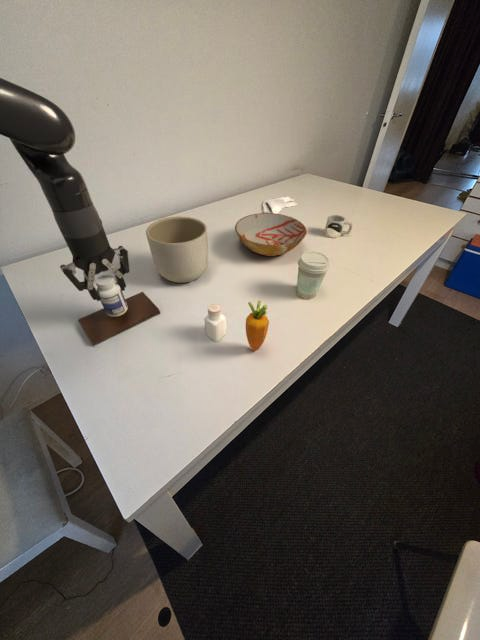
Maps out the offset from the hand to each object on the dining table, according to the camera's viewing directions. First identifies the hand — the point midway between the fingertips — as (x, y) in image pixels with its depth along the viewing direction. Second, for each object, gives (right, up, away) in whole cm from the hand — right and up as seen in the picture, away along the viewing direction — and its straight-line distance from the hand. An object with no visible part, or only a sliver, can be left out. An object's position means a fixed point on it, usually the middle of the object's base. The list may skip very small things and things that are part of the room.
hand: (110, 293), depth 64 cm
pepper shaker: (+26, -10, +3) cm, 28 cm away
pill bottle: (0, -4, +4) cm, 6 cm away
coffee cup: (+52, +2, +15) cm, 54 cm away
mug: (+71, +28, +42) cm, 87 cm away
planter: (+13, +9, +21) cm, 27 cm away
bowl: (+42, +20, +34) cm, 58 cm away
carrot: (+35, -14, -1) cm, 38 cm away
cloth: (+49, +48, +62) cm, 93 cm away
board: (0, -6, +6) cm, 9 cm away
